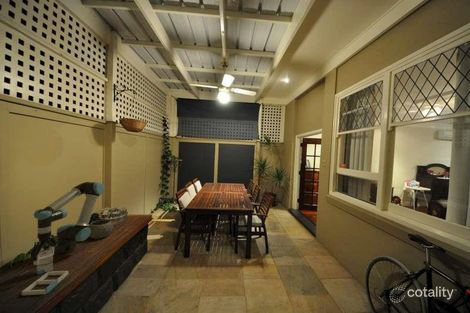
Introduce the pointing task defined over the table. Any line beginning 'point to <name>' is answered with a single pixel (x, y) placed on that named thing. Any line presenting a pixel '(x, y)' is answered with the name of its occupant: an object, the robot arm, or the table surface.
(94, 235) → the bowl
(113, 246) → the table surface
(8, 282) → the table surface
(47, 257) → the ink box
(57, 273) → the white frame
